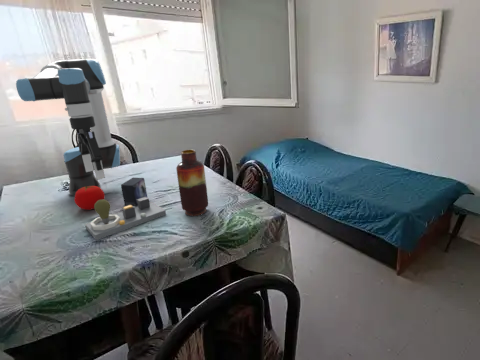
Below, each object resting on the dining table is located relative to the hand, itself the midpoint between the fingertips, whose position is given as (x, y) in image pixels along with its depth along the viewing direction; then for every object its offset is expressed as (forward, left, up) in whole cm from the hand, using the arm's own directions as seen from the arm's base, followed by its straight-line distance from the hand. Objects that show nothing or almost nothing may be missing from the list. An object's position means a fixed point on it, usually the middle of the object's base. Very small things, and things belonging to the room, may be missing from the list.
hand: (95, 174), depth 109 cm
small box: (-16, +19, -22) cm, 33 cm away
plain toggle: (-2, +17, -20) cm, 26 cm away
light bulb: (+1, 0, -20) cm, 20 cm away
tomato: (-26, +2, -22) cm, 35 cm away
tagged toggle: (+2, +9, -20) cm, 21 cm away
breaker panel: (+1, +8, -22) cm, 23 cm away
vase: (+15, +32, -22) cm, 41 cm away
